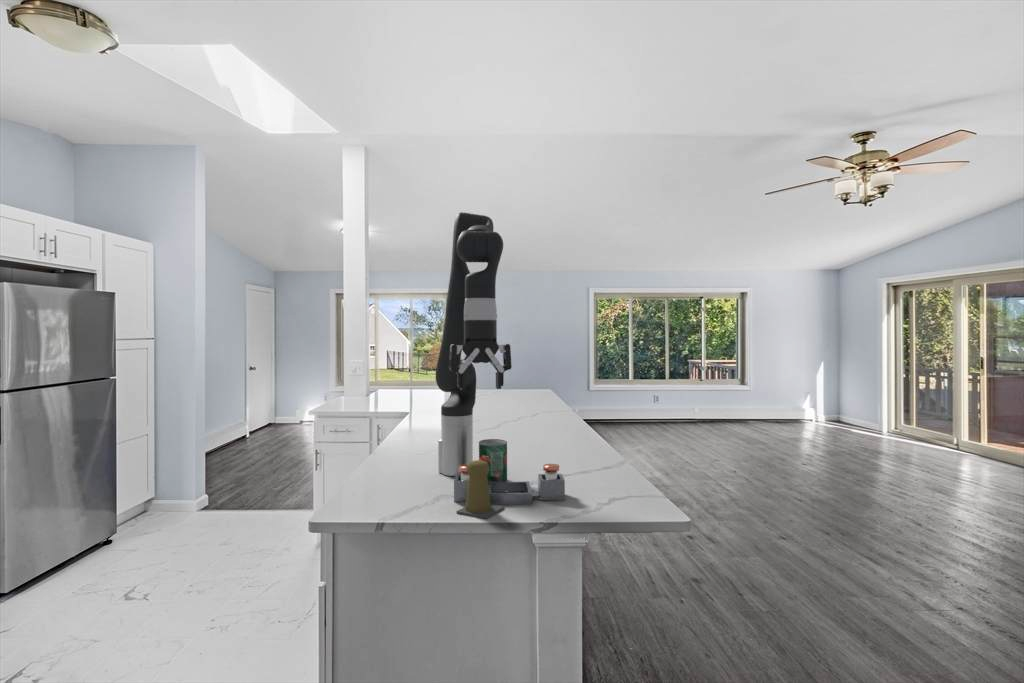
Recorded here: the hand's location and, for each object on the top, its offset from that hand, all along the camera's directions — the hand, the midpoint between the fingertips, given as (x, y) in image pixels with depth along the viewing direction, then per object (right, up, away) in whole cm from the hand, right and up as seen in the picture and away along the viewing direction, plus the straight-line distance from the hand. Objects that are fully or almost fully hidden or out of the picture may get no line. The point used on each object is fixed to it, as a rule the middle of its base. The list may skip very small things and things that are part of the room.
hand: (480, 389), depth 123 cm
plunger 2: (+17, -27, +11) cm, 34 cm away
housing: (+7, -28, +11) cm, 31 cm away
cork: (-1, -28, 0) cm, 28 cm away
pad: (0, -28, 0) cm, 28 cm away
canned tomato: (+2, -28, +25) cm, 38 cm away
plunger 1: (-4, -27, +10) cm, 29 cm away
